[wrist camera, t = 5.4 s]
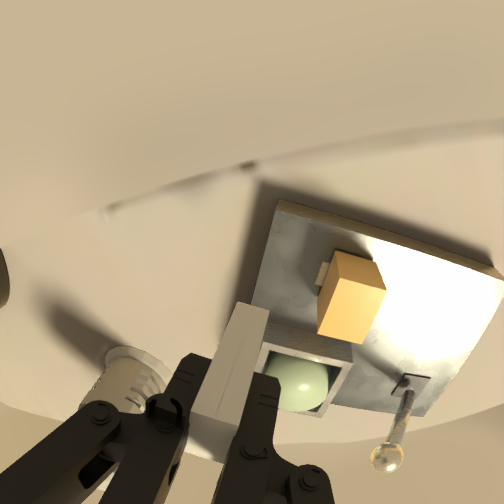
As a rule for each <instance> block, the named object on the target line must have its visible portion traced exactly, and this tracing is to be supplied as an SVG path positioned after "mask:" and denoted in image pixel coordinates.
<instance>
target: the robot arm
mask: <svg viewBox="0 0 504 504" xmlns="http://www.w3.org/2000/svg"><path fill="white" fill-rule="evenodd" d="M8 298H9V278H8V273H7V268H6V265H5V261H4V258H3V255H2V252H1V250H0V308H2V307H3V306H4V305H5V304H6V303H7V301H8ZM269 311H270V310H266V309H263V308H259V307H256V306H252V305H249V304H245V303H242V302H239V301H238V302H237V304H236V307H235V309H234V311H233V314H232V316H231V318H230V320H229V323H228V325H227V327H226V330H225V332H224V334H223V337H222V339H221V341H220V344H219V346H218V348H217V351H216V353H215V355H214V358H213V360H212V359H208V358H205V357H202V356H199V355H196V354H193V353H190V354H189V355H187V356H186V357H184V358H183V359H182V360H181V361H180V363H179V365H178V367H177V369H176V371H175V372H174V374H173V376H172V378H171V380H170V382H169V383H168V385H167V387H166V389H165V391H164V393H158V394H155V395H153V396H150V397H149V398H148V399H147V400H146V401H145V413H141V414H133V413H125V412H119V411H118V409H117V408H116V407H115V406H114V405H113V404H111V403H110V402H108V401H103V400H95V401H91V402H89V403H87V404H86V405H85V406H83V407H82V408H81V409H80V410H78V411H77V412H76V413H75V414H74V415H72V416H71V417H70V418H69V419H67V420H66V421H65V422H64V423H63V424H61V425H60V426H59V427H58V428H56V429H55V430H54V431H53V432H51V433H50V434H49V435H48V436H47V437H45V438H44V439H43V440H42V441H40V442H39V443H38V444H37V445H36V446H34V447H33V448H32V449H31V450H29V451H28V452H27V453H26V454H24V455H23V456H22V457H21V458H19V459H18V460H17V461H16V462H15V463H13V464H12V465H11V466H9V467H8V468H7V469H6V470H5V471H3V472H2V473H1V474H0V504H81V503H82V502H83V501H84V500H85V499H86V498H87V497H88V496H89V495H90V494H91V493H92V492H93V491H94V490H95V489H96V488H97V487H98V486H99V485H101V484H102V483H103V482H104V481H105V480H106V479H107V477H108V476H109V475H110V474H111V473H112V472H113V471H114V470H115V469H116V468H117V467H118V468H117V470H116V472H115V474H114V475H113V477H112V479H111V481H110V483H109V485H108V487H107V488H106V490H105V492H104V494H103V496H102V498H101V500H100V502H99V503H98V504H164V502H165V500H166V497H167V495H168V492H169V490H170V487H171V485H172V483H173V480H174V478H175V475H176V473H177V470H178V468H179V466H180V460H181V456H182V454H183V452H184V449H185V452H188V453H191V454H194V455H197V456H200V457H203V458H206V459H209V460H213V461H216V462H220V463H223V464H224V465H223V468H222V471H221V474H220V477H219V479H218V482H217V486H216V489H215V492H214V495H213V499H212V502H211V504H335V502H334V498H333V493H332V489H331V484H330V480H329V477H328V475H327V474H326V472H325V471H324V470H323V469H321V468H319V467H317V466H315V465H309V464H306V465H301V466H299V467H298V466H296V465H294V464H291V463H290V462H288V461H286V460H284V459H283V458H281V457H280V456H279V455H278V454H277V453H276V451H275V449H274V447H273V434H274V428H275V423H276V417H277V411H278V406H279V399H280V394H281V386H280V383H279V380H278V378H276V377H273V376H269V375H265V374H261V373H258V372H254V369H255V365H256V361H257V358H258V354H259V350H260V346H261V342H262V339H263V335H264V331H265V327H266V323H267V319H268V315H269Z"/></svg>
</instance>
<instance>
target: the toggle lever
mask: <svg viewBox="0 0 504 504" xmlns="http://www.w3.org/2000/svg"><path fill="white" fill-rule="evenodd" d="M415 397H416V393H415V391H414V390H412V389H408V390H406V391H405V392H404V393H403V396H402V399H401V402H400V405H399V407H398V410H397V413H396V416H395V418H394V421H393V424H392V426H391V429H390V431H389V434H388V436H387V439H386V441H385V443H382V444H380V445H379V446H377V447H376V448H375V449H374V451H373V452H372V454H371V458H370V461H371V465H372V467H373V468H374V469H375V470H376V471H377V472H380V473H390V472H393V471H394V470H396V469H397V468H398V467H399V466H400V465H401V463H402V461H403V456H404V455H403V451H402V449H401V447H400V443H401V441H402V438H403V435H404V432H405V429H406V426H407V423H408V420H409V417H410V414H411V410H412V407H413V404H414V400H415Z"/></svg>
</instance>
